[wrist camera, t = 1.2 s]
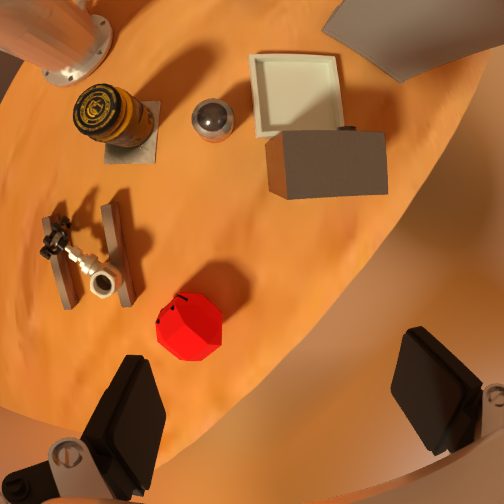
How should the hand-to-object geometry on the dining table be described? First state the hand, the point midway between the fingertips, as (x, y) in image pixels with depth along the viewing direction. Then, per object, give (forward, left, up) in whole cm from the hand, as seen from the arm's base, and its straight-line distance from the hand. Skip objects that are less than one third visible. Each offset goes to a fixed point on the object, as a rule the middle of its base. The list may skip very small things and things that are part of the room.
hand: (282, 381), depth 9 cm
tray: (-17, +8, -29) cm, 34 cm away
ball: (+12, -8, -29) cm, 32 cm away
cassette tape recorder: (-26, +21, -29) cm, 44 cm away
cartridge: (-13, -2, -29) cm, 32 cm away
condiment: (-14, -13, -29) cm, 35 cm away
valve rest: (+2, -22, -29) cm, 36 cm away
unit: (-7, +9, -29) cm, 31 cm away
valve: (+2, -22, -29) cm, 37 cm away
